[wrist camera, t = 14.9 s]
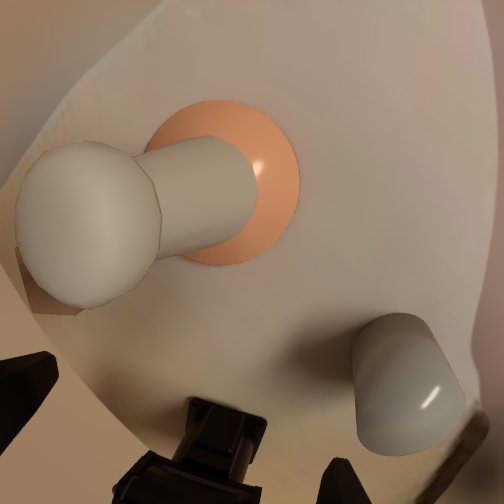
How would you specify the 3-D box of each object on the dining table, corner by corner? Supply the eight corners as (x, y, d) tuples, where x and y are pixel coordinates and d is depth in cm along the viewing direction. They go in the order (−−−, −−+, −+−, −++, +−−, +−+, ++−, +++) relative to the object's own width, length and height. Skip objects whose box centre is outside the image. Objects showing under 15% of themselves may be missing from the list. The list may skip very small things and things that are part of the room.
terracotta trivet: (278, 280, 20) (276, 284, 19) (137, 240, 22) (131, 242, 21) (316, 119, 17) (316, 117, 16) (161, 95, 19) (155, 92, 18)
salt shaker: (159, 212, 20) (-16, 278, 7) (191, 125, 18) (9, 91, 6) (242, 252, 19) (121, 387, 7) (282, 162, 17) (192, 155, 5)
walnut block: (114, 289, 23) (74, 315, 19) (71, 290, 24) (32, 312, 20) (100, 225, 22) (55, 241, 17) (58, 233, 23) (14, 248, 19)
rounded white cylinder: (411, 391, 20) (429, 459, 14) (338, 377, 21) (339, 449, 15) (446, 323, 19) (484, 383, 12) (369, 303, 19) (387, 366, 13)
